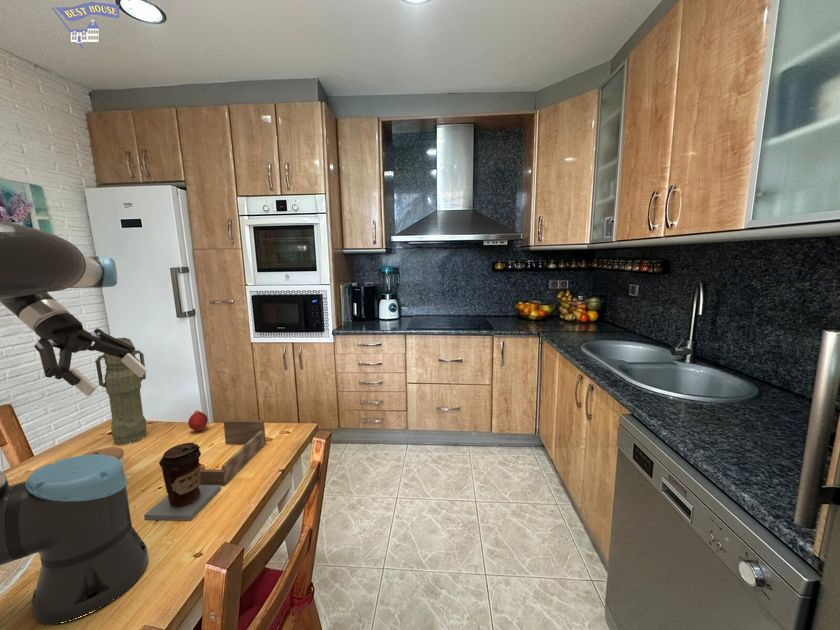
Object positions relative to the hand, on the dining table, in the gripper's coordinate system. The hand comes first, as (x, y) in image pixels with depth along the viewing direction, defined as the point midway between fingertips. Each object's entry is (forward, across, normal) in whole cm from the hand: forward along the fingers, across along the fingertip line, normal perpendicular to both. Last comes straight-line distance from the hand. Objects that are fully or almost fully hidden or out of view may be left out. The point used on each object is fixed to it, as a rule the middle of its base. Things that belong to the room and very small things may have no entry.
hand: (120, 382), depth 83 cm
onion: (+17, -33, -26) cm, 45 cm away
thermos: (+2, -27, -40) cm, 48 cm away
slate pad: (+33, +4, -9) cm, 34 cm away
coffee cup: (+32, +4, -8) cm, 34 cm away
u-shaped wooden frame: (+32, -14, -10) cm, 36 cm away
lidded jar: (+12, -3, -30) cm, 33 cm away
